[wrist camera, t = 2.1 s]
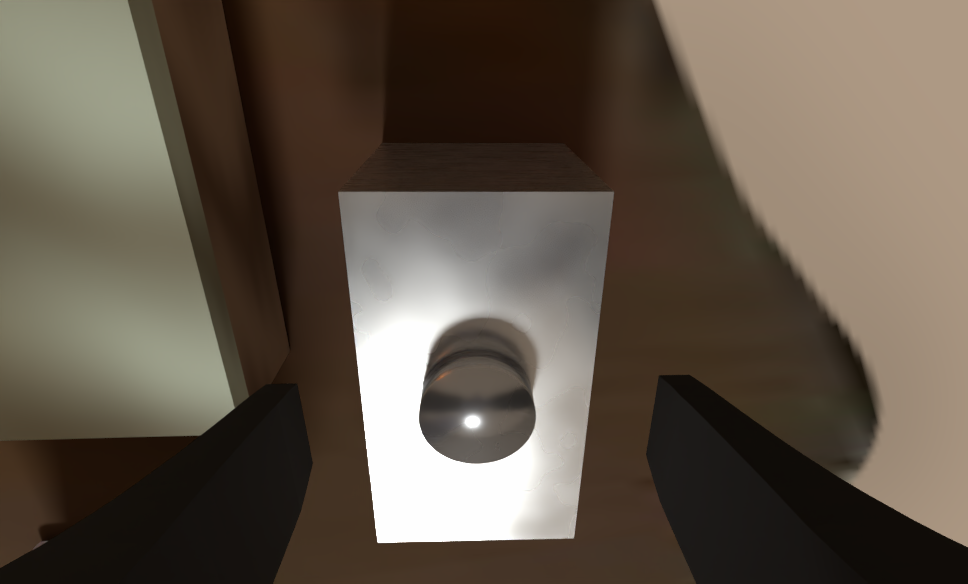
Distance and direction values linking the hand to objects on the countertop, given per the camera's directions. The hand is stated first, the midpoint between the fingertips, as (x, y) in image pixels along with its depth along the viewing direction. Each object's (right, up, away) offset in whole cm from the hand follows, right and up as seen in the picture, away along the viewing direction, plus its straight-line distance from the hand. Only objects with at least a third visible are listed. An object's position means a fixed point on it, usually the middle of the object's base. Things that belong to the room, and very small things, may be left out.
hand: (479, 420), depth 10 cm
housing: (0, +3, +6) cm, 6 cm away
